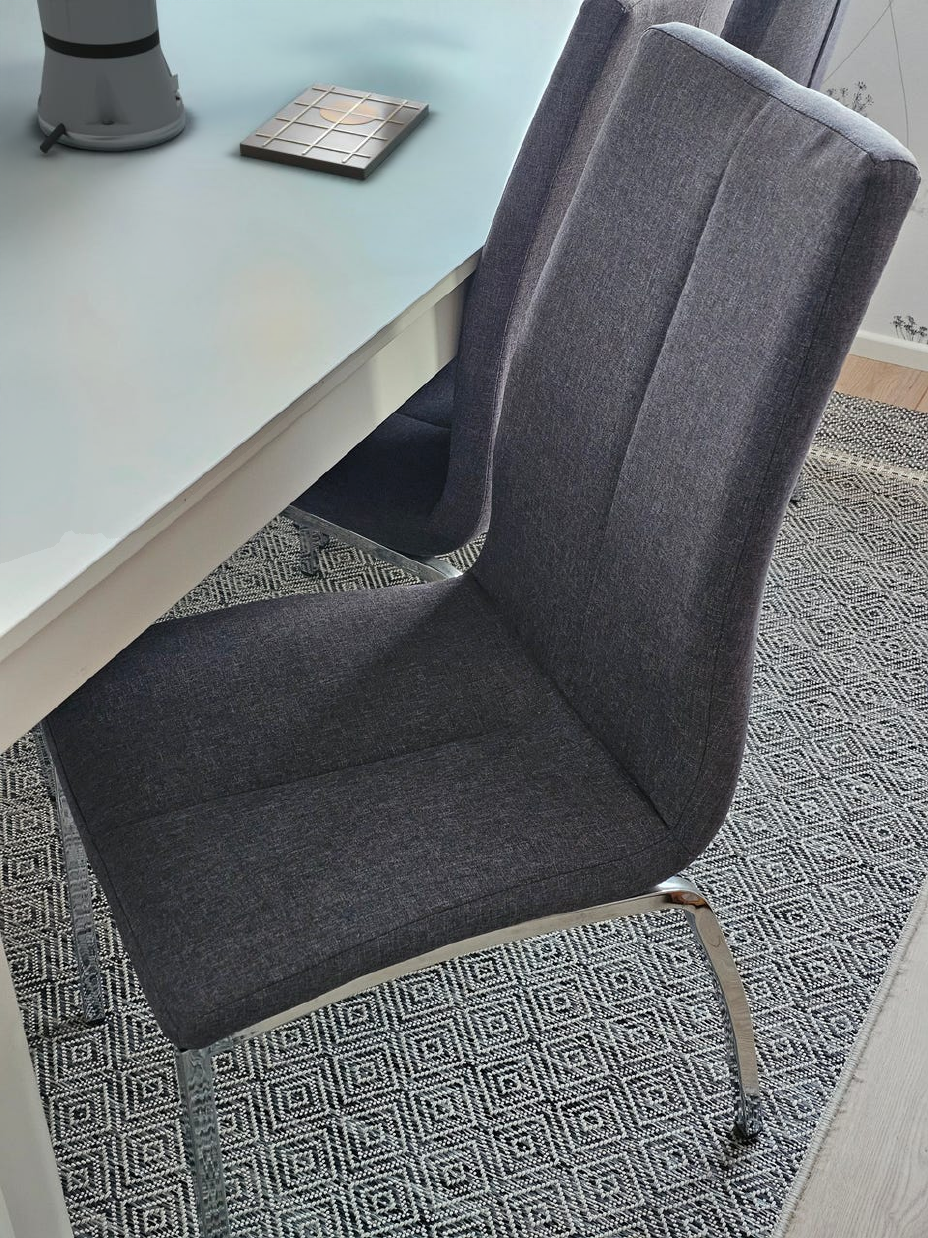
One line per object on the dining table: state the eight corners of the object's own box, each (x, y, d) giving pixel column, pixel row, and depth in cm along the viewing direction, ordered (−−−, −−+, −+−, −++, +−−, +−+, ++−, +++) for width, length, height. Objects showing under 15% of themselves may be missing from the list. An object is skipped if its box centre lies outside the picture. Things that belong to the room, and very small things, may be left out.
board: (364, 180, 123) (364, 167, 122) (240, 154, 126) (239, 142, 125) (428, 114, 137) (429, 102, 137) (315, 92, 140) (315, 80, 139)
